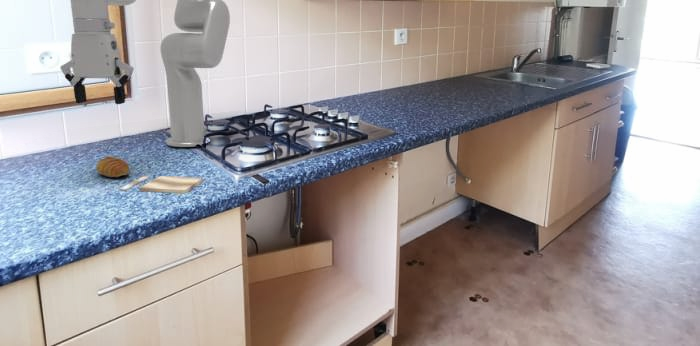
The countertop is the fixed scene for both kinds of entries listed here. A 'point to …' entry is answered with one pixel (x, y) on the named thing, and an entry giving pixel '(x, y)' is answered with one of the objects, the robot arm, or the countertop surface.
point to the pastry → (112, 167)
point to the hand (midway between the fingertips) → (100, 103)
